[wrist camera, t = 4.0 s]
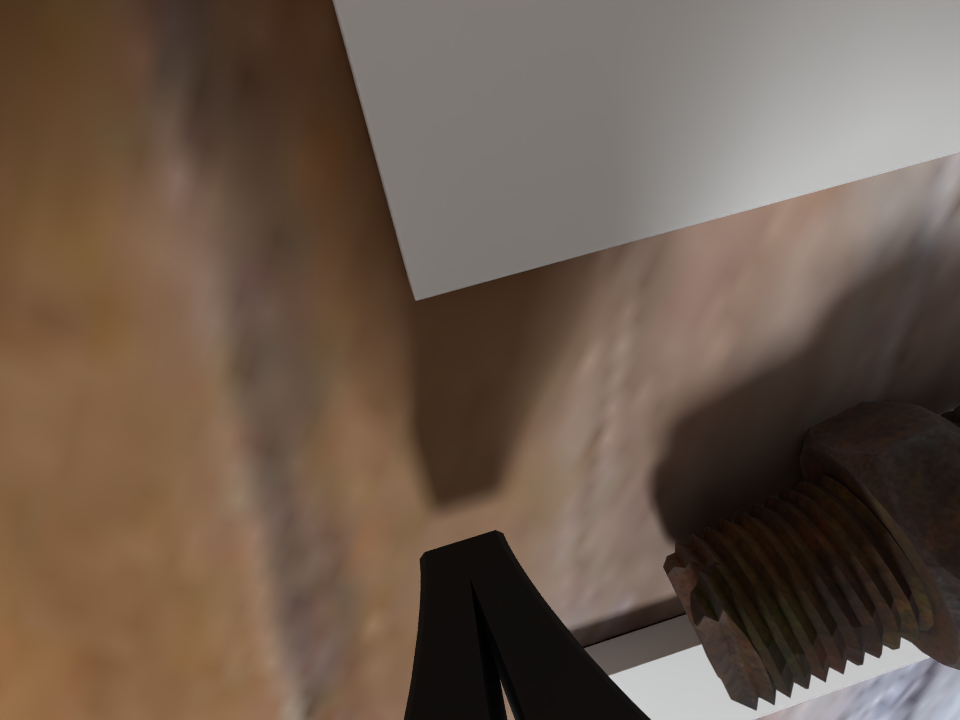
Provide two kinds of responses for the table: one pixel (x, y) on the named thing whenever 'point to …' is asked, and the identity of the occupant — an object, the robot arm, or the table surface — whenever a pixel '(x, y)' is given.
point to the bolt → (835, 557)
